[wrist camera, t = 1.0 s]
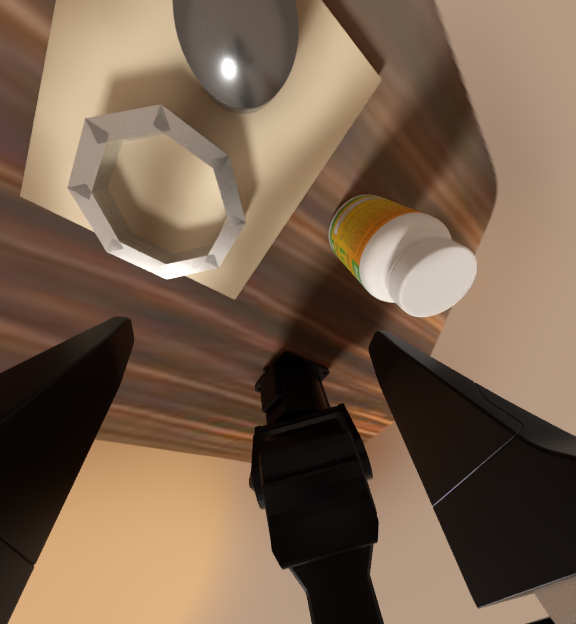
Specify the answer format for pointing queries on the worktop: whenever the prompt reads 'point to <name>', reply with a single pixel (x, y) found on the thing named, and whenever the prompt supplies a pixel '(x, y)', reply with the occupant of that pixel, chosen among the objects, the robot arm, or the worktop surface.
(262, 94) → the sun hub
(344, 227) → the supplement bottle
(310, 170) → the carrier plate
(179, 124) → the socket collar
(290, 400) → the robot arm
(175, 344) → the worktop surface
